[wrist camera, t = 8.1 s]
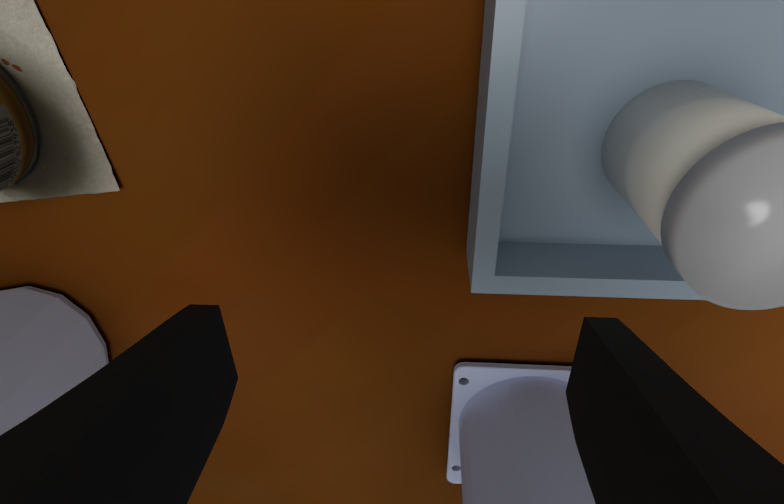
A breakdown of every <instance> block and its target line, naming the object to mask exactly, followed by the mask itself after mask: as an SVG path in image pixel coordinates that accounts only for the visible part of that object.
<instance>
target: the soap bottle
mask: <svg viewBox="0 0 784 504" xmlns="http://www.w3.org/2000/svg"><path fill="white" fill-rule="evenodd" d="M108 363H109V361H108V354H107V348H106V343H105V341H104V340H103V338H102V336H101V335H100V333H99V331H98V330H97V328H96V326H95V325H94V323H93V322H92V320H91V318H90V317H89V315H88V314H86V313H85V312H84V311H83V310H81V309H80V308H79V307H77V306H76V305H75V304H73V303H72V302H71V301H69V300H68V299H67V298H65V297H64V296H63V295H61V294H57V293H54V292H50V291H46V290H43V289H39V288H35V287H31V286H25V287H19V288H13V289H7V290H1V291H0V435H2V434H3V433H5V432H7V431H8V430H10V429H11V428H13V427H15V426H16V425H18V424H19V423H21V422H23V421H24V420H26V419H27V418H29V417H30V416H32V415H34V414H35V413H37V412H38V411H39V410H41V409H42V408H44V407H45V406H47V405H48V404H50V403H51V402H53V401H54V400H56V399H57V398H59V397H60V396H62V395H63V394H65V393H66V392H68V391H69V390H71V389H72V388H73V387H75V386H76V385H78V384H79V383H81V382H82V381H84V380H85V379H87V378H88V377H90V376H91V375H93V374H94V373H95V372H97V371H98V370H100V369H101V368H102V367H104V366H105V365H106V364H108Z"/></svg>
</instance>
